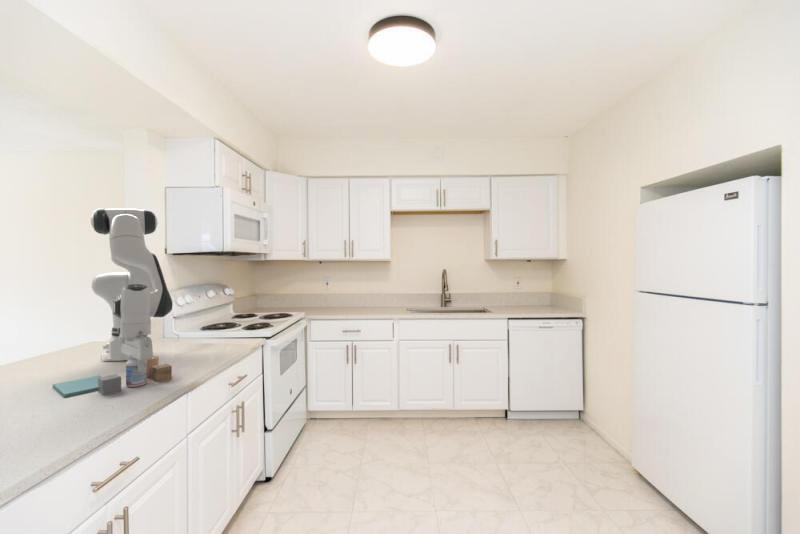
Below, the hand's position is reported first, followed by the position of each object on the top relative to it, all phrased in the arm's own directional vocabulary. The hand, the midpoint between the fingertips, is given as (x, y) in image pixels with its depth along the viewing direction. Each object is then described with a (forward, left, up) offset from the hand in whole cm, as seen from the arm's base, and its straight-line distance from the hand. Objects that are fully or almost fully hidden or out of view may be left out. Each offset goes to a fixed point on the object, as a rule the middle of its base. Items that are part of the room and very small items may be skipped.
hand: (136, 368), depth 130 cm
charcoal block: (+1, -8, -6) cm, 10 cm away
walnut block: (0, +8, -6) cm, 10 cm away
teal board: (-12, -12, -6) cm, 18 cm away
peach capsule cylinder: (-7, +7, -6) cm, 11 cm away
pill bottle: (0, 0, -6) cm, 6 cm away
